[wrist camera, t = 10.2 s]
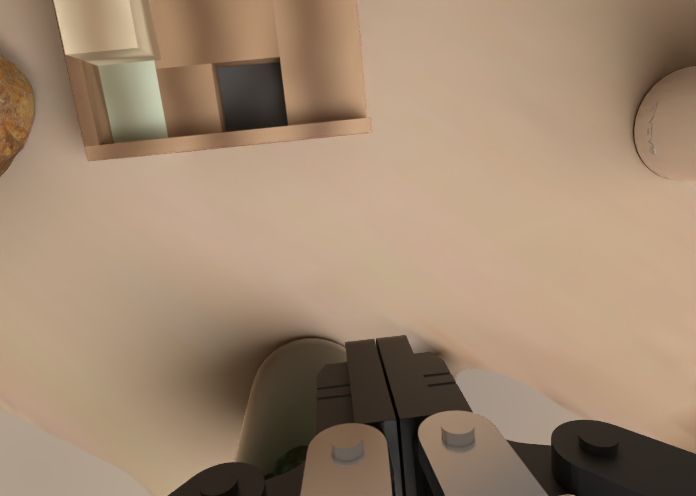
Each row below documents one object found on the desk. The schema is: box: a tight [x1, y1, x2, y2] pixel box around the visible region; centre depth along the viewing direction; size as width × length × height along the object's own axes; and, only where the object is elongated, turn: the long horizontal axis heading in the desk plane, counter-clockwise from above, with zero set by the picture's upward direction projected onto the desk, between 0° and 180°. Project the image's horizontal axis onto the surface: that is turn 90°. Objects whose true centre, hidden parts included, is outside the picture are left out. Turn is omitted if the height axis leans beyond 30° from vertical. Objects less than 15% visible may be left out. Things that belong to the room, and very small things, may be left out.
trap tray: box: [53, 0, 372, 161], centre depth 34 cm, size 20×18×5 cm
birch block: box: [54, 0, 161, 66], centre depth 32 cm, size 4×4×4 cm
